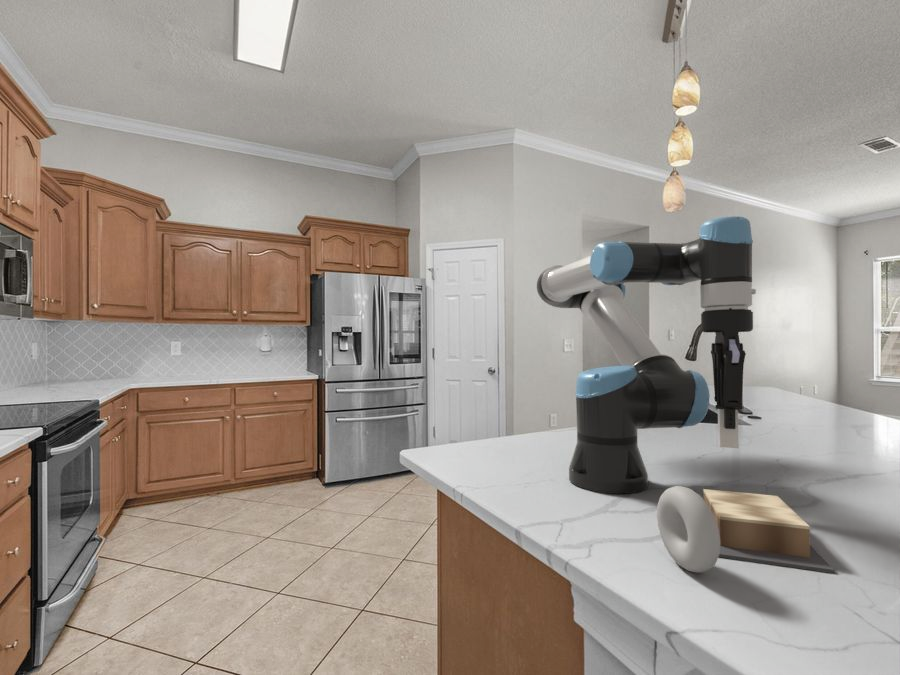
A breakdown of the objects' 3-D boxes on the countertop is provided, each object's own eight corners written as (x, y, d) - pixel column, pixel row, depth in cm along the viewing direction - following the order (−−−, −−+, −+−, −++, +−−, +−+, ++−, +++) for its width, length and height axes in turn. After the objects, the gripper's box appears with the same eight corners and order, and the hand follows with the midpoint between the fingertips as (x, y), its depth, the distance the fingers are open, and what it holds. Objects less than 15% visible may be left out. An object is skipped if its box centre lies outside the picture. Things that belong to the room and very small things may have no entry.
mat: (711, 555, 58) (711, 552, 58) (694, 516, 71) (694, 514, 71) (834, 573, 53) (834, 569, 53) (791, 527, 66) (791, 525, 66)
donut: (652, 550, 59) (650, 476, 60) (676, 548, 60) (674, 475, 60) (700, 591, 49) (698, 502, 50) (728, 589, 50) (726, 501, 50)
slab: (703, 513, 71) (720, 545, 60) (703, 489, 71) (719, 516, 60) (777, 522, 67) (810, 557, 56) (777, 495, 67) (809, 526, 56)
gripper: (763, 305, 68) (766, 458, 67) (741, 310, 80) (743, 440, 80) (708, 307, 70) (710, 454, 70) (695, 312, 82) (696, 437, 82)
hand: (728, 446), depth 75 cm, fingers closed
